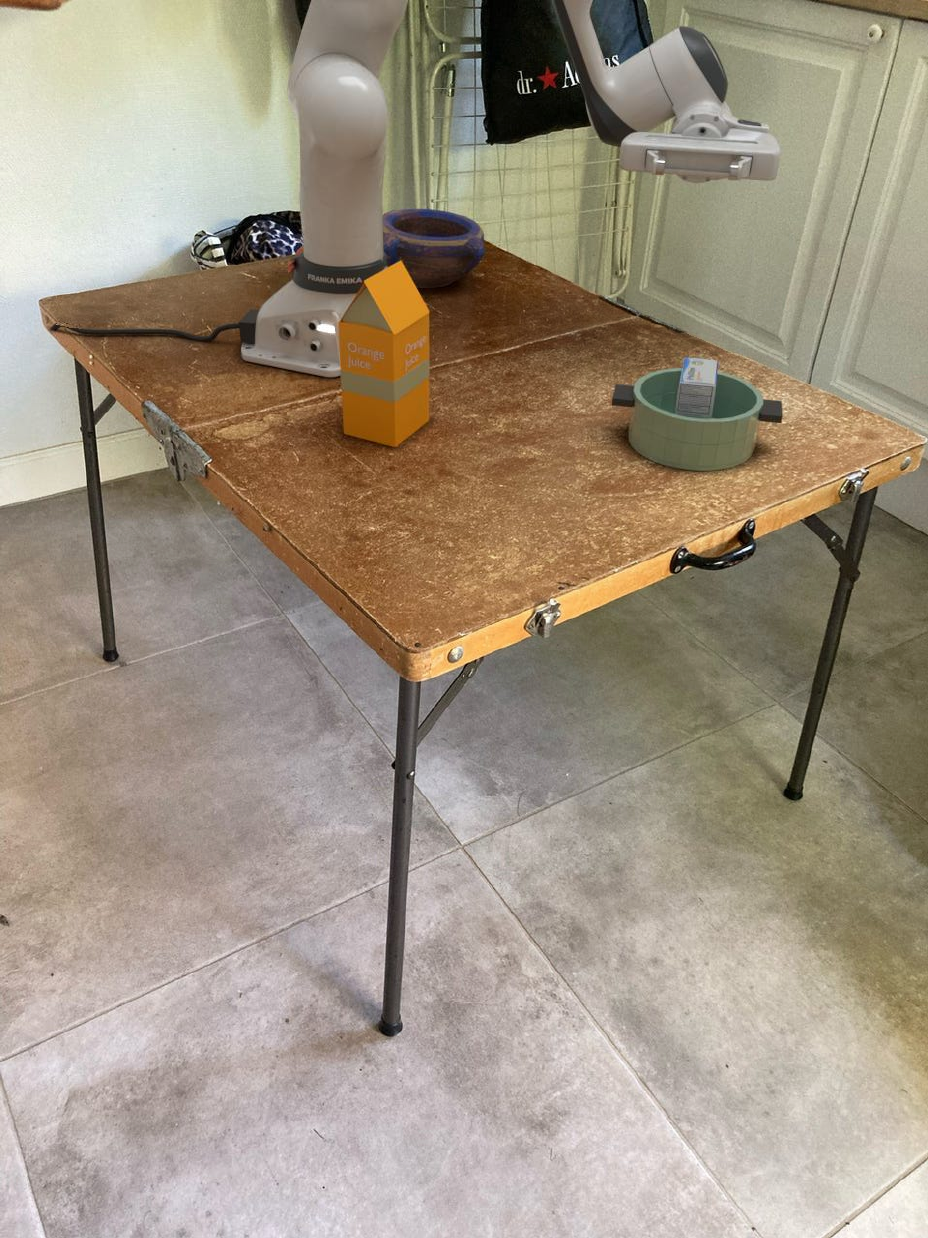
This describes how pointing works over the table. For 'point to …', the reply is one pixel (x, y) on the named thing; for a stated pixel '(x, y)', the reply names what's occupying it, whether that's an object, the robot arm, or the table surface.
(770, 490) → the table surface
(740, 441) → the pot
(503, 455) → the table surface
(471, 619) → the table surface
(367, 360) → the orange juice
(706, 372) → the medicine box
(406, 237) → the bowl
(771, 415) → the pot handles
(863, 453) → the table surface
